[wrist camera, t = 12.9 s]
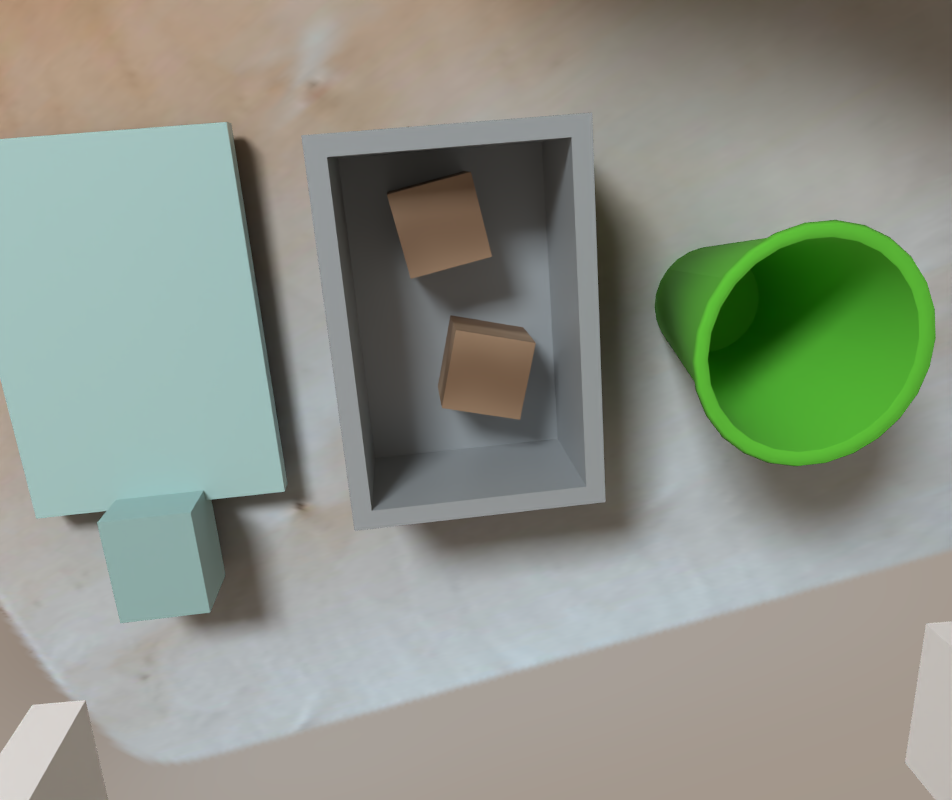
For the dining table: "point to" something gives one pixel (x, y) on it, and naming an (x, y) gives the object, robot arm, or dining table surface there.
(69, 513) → the lid
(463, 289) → the tub
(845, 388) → the cup
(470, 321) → the block
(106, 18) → the dining table surface
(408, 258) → the block
